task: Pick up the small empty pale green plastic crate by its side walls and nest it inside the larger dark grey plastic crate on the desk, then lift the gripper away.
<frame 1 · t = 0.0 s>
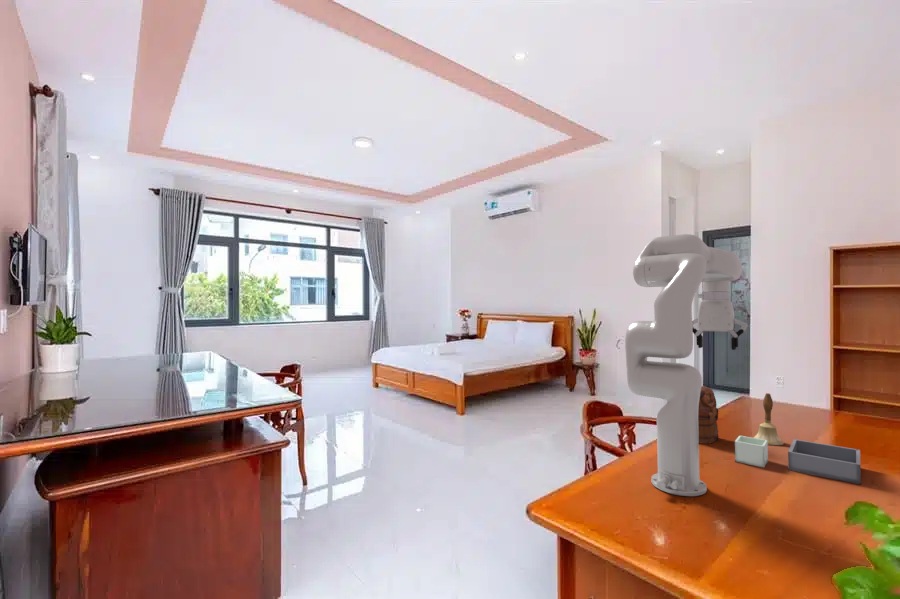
hand: (716, 348, 144), 31 cm above the table, tool pointing down, fingers open, 9 cm apart
small crate: (751, 461, 127), on the table
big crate: (824, 468, 121), on the table
wooden figurine: (705, 440, 147), on the table
hand bell: (767, 442, 144), on the table
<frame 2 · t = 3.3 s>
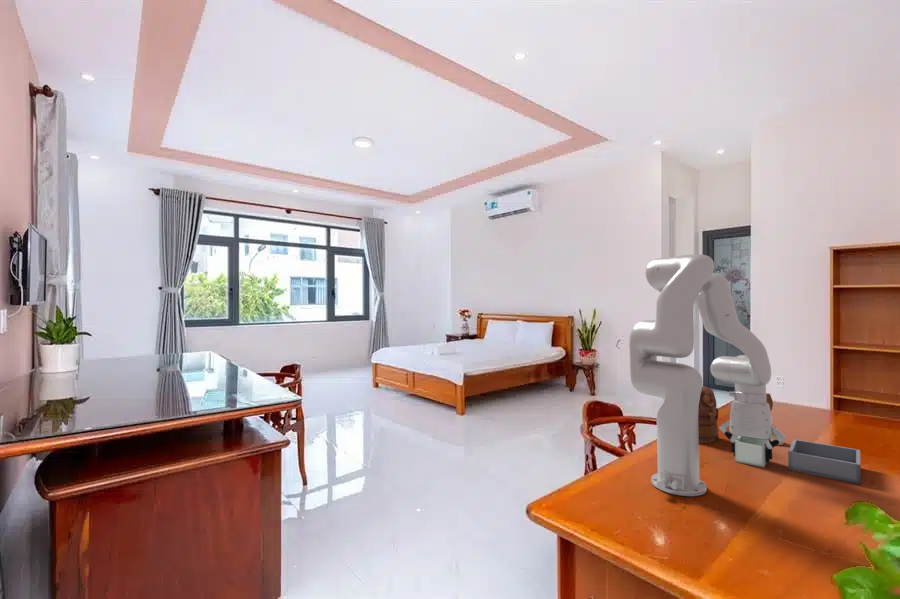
hand: (751, 457, 127), 1 cm above the table, tool pointing down, fingers closed on small crate, 7 cm apart
small crate: (751, 461, 127), on the table, touching gripper
everything else where it was.
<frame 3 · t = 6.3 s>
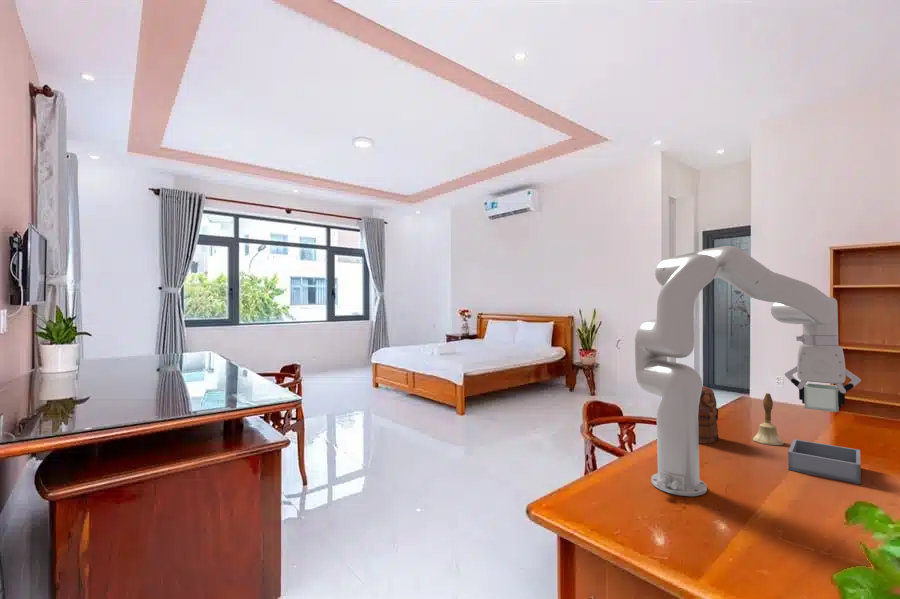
hand: (821, 404, 121), 18 cm above the table, tool pointing down, fingers closed on small crate, 7 cm apart
small crate: (821, 407, 121), point 17 cm above the table, touching gripper
everything else where it was.
when the fingers open (4 cm above the table, at t = 9.4 s): small crate drops 2 cm, resting on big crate.
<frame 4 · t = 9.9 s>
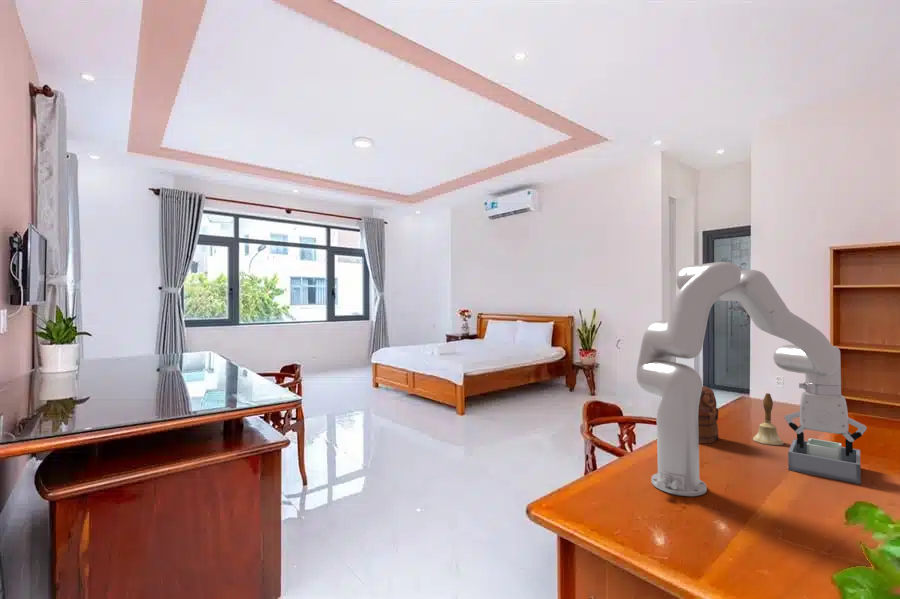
hand: (824, 450, 121), 5 cm above the table, tool pointing down, fingers open, 9 cm apart
small crate: (824, 465, 121), point 1 cm above the table, touching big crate
everything else where it was.
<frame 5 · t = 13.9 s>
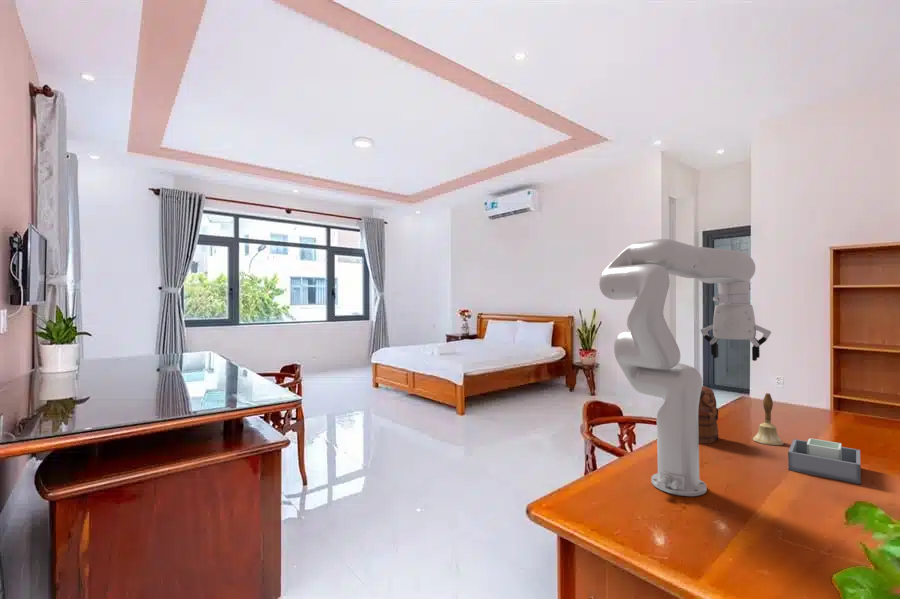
hand: (734, 358, 126), 30 cm above the table, tool pointing down, fingers open, 9 cm apart
nothing on the table moved.
at the end: small crate 0.0 cm off-centre on the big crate, point 1.0 cm above the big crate's base; small crate tilted 0°; the gripper is holding nothing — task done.
